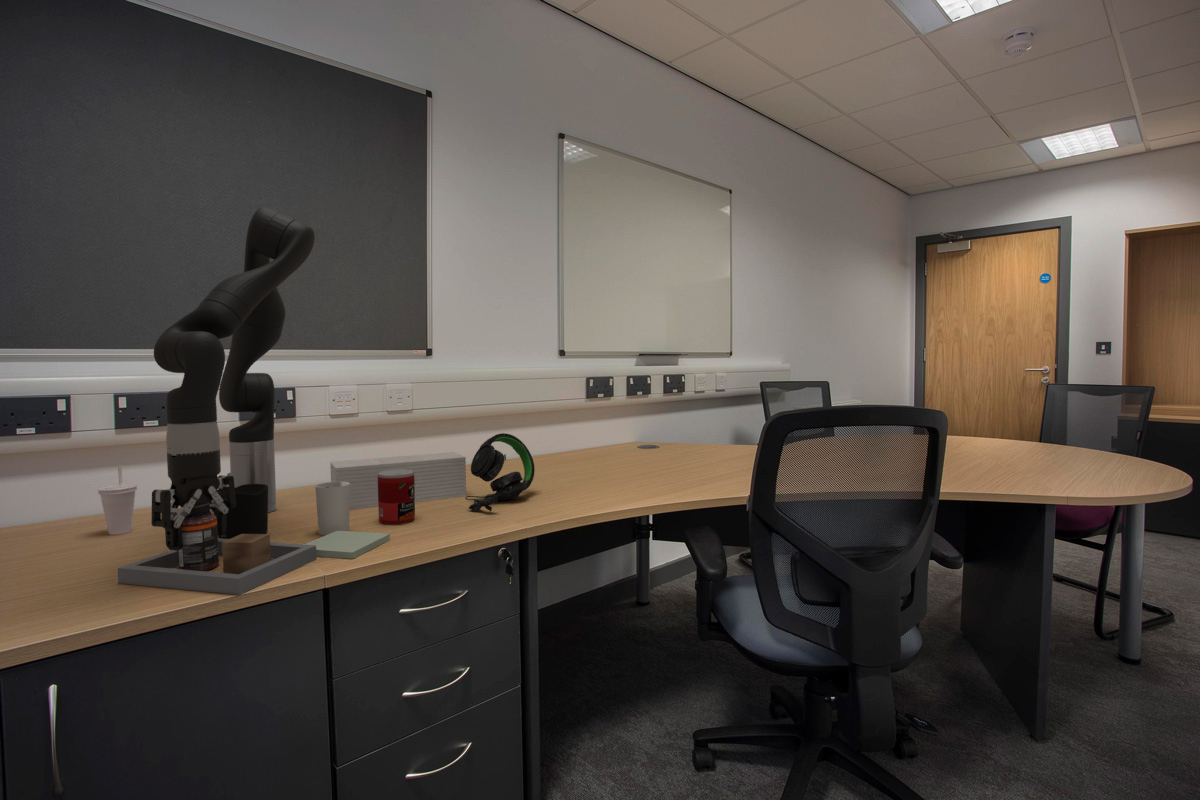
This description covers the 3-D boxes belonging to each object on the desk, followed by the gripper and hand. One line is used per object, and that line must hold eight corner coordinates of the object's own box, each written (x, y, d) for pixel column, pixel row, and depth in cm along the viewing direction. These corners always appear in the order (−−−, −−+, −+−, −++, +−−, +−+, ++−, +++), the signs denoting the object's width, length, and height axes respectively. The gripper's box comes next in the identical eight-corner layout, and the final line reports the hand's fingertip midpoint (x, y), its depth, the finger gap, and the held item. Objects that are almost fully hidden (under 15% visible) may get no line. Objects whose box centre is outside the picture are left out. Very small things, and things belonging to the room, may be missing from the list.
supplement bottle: (191, 563, 105) (188, 500, 105) (226, 562, 106) (223, 499, 105) (169, 575, 99) (166, 508, 99) (207, 573, 100) (204, 507, 99)
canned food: (404, 525, 130) (403, 475, 129) (371, 523, 131) (370, 474, 131) (421, 517, 137) (420, 469, 137) (390, 515, 139) (389, 468, 138)
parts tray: (118, 583, 96) (117, 567, 96) (209, 550, 112) (209, 537, 112) (239, 594, 91) (238, 578, 90) (316, 558, 107) (316, 545, 107)
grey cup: (315, 537, 121) (313, 489, 120) (317, 529, 127) (316, 482, 127) (350, 534, 123) (349, 486, 123) (351, 525, 130) (350, 480, 129)
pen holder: (221, 533, 124) (219, 486, 124) (272, 528, 128) (270, 482, 127) (211, 545, 116) (209, 495, 115) (266, 539, 119) (265, 490, 119)
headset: (482, 538, 147) (530, 472, 168) (513, 525, 139) (559, 457, 160) (437, 490, 143) (492, 429, 164) (467, 473, 136) (521, 412, 156)
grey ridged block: (454, 489, 168) (453, 452, 168) (466, 496, 159) (465, 456, 159) (331, 503, 152) (330, 461, 151) (336, 512, 143) (335, 467, 142)
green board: (295, 554, 110) (295, 548, 110) (337, 536, 122) (337, 530, 122) (352, 558, 107) (352, 552, 107) (389, 539, 119) (389, 534, 119)
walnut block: (223, 578, 98) (222, 542, 98) (243, 567, 103) (241, 533, 103) (252, 578, 98) (251, 542, 98) (271, 568, 103) (269, 534, 102)
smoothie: (145, 530, 127) (142, 465, 126) (110, 538, 121) (107, 470, 120) (128, 526, 129) (125, 463, 129) (93, 534, 124) (89, 467, 123)
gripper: (211, 442, 109) (214, 529, 110) (135, 454, 95) (140, 553, 96) (245, 443, 108) (249, 532, 108) (173, 455, 94) (178, 556, 95)
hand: (197, 542), depth 102 cm, fingers open, 8 cm apart
